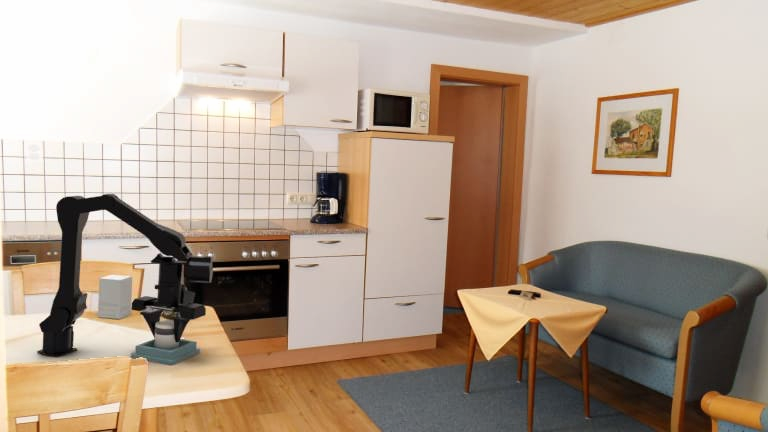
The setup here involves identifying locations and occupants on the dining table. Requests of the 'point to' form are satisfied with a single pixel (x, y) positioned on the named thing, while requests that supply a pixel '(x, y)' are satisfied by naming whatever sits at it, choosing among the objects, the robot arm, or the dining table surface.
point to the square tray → (166, 352)
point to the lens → (165, 335)
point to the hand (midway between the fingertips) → (166, 340)
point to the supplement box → (115, 296)
